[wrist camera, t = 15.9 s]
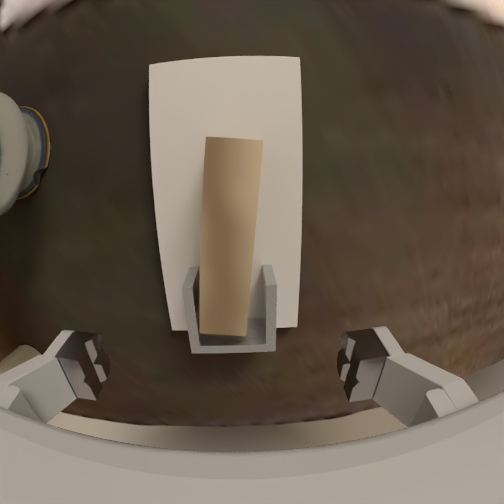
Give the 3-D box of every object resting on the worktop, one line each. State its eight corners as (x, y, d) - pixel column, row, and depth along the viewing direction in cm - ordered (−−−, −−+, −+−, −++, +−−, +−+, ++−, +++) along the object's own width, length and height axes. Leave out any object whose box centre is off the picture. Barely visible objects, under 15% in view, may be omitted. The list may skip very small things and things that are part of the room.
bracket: (296, 62, 21) (311, 41, 16) (294, 318, 29) (304, 352, 24) (154, 68, 21) (133, 51, 15) (175, 321, 29) (164, 356, 24)
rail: (258, 141, 22) (263, 140, 17) (244, 303, 27) (245, 336, 22) (212, 138, 22) (205, 136, 17) (205, 301, 26) (199, 333, 22)
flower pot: (23, 377, 32) (-1, 413, 24) (2, 328, 29) (-30, 363, 21) (69, 391, 33) (46, 434, 25) (49, 340, 30) (16, 383, 22)
